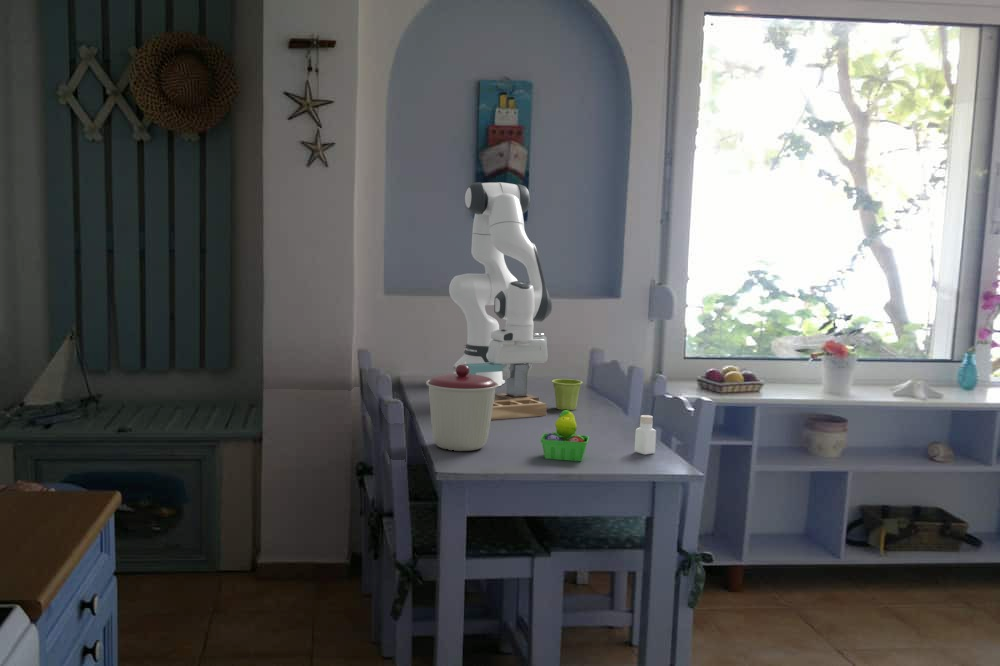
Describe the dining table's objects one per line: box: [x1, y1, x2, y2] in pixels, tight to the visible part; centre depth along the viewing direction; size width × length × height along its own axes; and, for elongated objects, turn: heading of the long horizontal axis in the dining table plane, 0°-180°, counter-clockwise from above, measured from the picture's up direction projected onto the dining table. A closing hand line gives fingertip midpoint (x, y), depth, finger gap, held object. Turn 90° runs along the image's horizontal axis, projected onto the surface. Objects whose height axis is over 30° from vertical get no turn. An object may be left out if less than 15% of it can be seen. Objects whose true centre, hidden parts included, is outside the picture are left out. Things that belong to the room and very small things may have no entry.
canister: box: [425, 365, 499, 452], centre depth 247 cm, size 18×18×21 cm
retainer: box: [464, 363, 504, 375], centre depth 300 cm, size 13×7×12 cm, turn 121°
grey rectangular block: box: [505, 363, 528, 397], centre depth 308 cm, size 5×5×10 cm
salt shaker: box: [634, 414, 657, 455], centre depth 249 cm, size 4×4×10 cm
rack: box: [491, 398, 548, 421], centre depth 292 cm, size 10×22×4 cm, turn 121°
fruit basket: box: [540, 409, 590, 462], centre depth 241 cm, size 11×9×11 cm
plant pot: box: [551, 378, 583, 411], centre depth 305 cm, size 9×9×9 cm
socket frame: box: [494, 392, 540, 402], centre depth 304 cm, size 27×10×3 cm, turn 121°
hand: (517, 377), depth 307 cm, fingers closed on grey rectangular block, 5 cm apart
